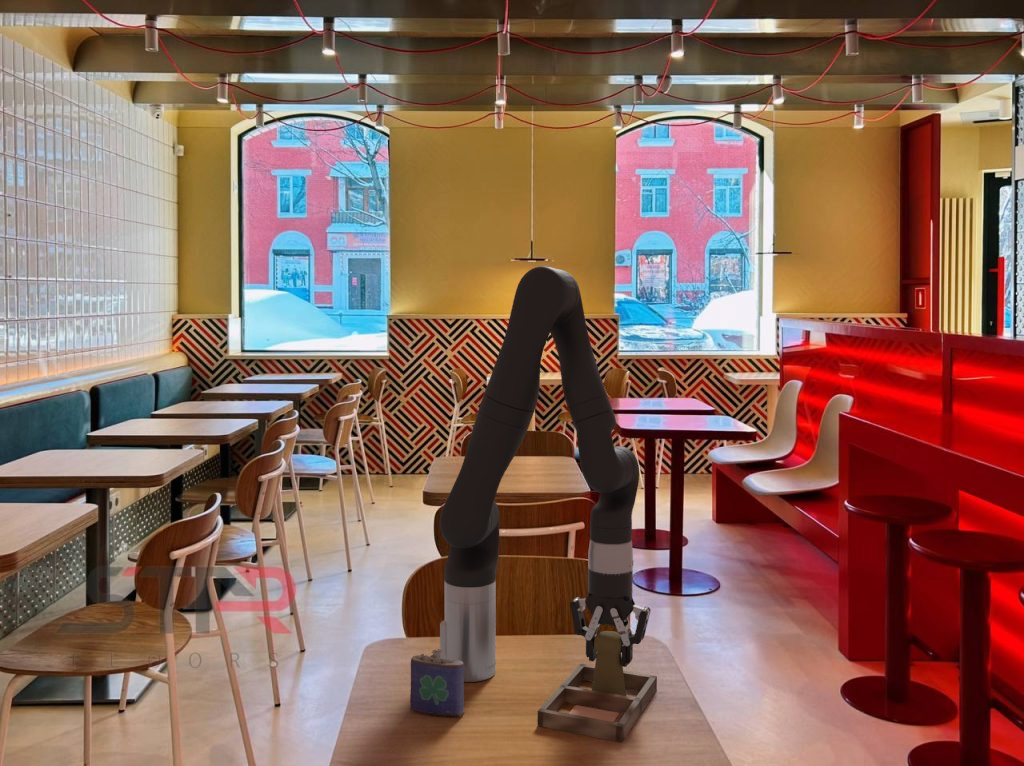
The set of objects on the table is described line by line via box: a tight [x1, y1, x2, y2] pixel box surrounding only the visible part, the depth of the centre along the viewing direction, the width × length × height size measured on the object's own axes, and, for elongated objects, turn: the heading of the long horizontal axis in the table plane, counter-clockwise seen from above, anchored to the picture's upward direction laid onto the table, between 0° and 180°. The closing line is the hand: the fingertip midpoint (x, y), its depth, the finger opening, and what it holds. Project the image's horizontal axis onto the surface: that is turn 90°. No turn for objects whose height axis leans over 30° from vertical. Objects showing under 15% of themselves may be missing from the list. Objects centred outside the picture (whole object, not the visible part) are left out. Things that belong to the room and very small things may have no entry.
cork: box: [591, 630, 627, 696], centre depth 164 cm, size 6×6×11 cm
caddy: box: [537, 663, 658, 743], centre depth 160 cm, size 14×21×2 cm, turn 157°
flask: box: [409, 648, 465, 719], centre depth 157 cm, size 9×3×11 cm, turn 74°
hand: (609, 662), depth 164 cm, fingers closed on cork, 5 cm apart
